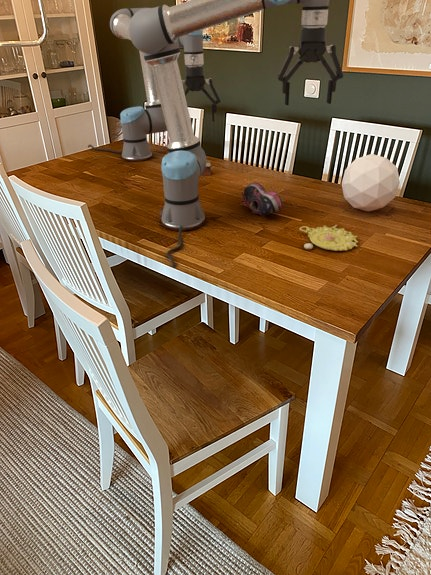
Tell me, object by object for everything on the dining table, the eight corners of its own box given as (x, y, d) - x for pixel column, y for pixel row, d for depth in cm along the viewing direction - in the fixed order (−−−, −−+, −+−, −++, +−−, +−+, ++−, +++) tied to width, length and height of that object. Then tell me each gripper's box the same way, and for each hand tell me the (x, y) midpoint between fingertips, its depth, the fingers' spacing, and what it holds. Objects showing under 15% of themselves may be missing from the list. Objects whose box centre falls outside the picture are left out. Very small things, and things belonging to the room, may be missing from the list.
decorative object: (343, 255, 128) (285, 234, 139) (342, 262, 130) (284, 241, 140) (372, 230, 142) (317, 213, 152) (371, 237, 143) (316, 219, 153)
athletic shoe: (254, 181, 170) (227, 189, 167) (283, 176, 151) (253, 185, 147) (260, 210, 173) (234, 218, 170) (290, 209, 154) (261, 219, 150)
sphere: (373, 230, 162) (391, 201, 143) (326, 202, 166) (337, 171, 147) (398, 193, 166) (419, 160, 148) (352, 167, 171) (366, 133, 152)
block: (199, 172, 203) (199, 163, 200) (210, 171, 203) (210, 162, 201) (199, 175, 198) (199, 166, 196) (210, 175, 198) (210, 166, 196)
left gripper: (162, 68, 173) (167, 124, 184) (225, 65, 173) (226, 122, 184) (163, 66, 179) (168, 120, 191) (225, 63, 179) (226, 118, 191)
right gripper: (273, 28, 127) (270, 107, 138) (359, 26, 127) (349, 104, 139) (269, 27, 133) (267, 102, 145) (351, 25, 134) (343, 100, 145)
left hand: (197, 121), depth 188 cm, fingers open, 13 cm apart
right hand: (307, 103), depth 142 cm, fingers open, 13 cm apart
